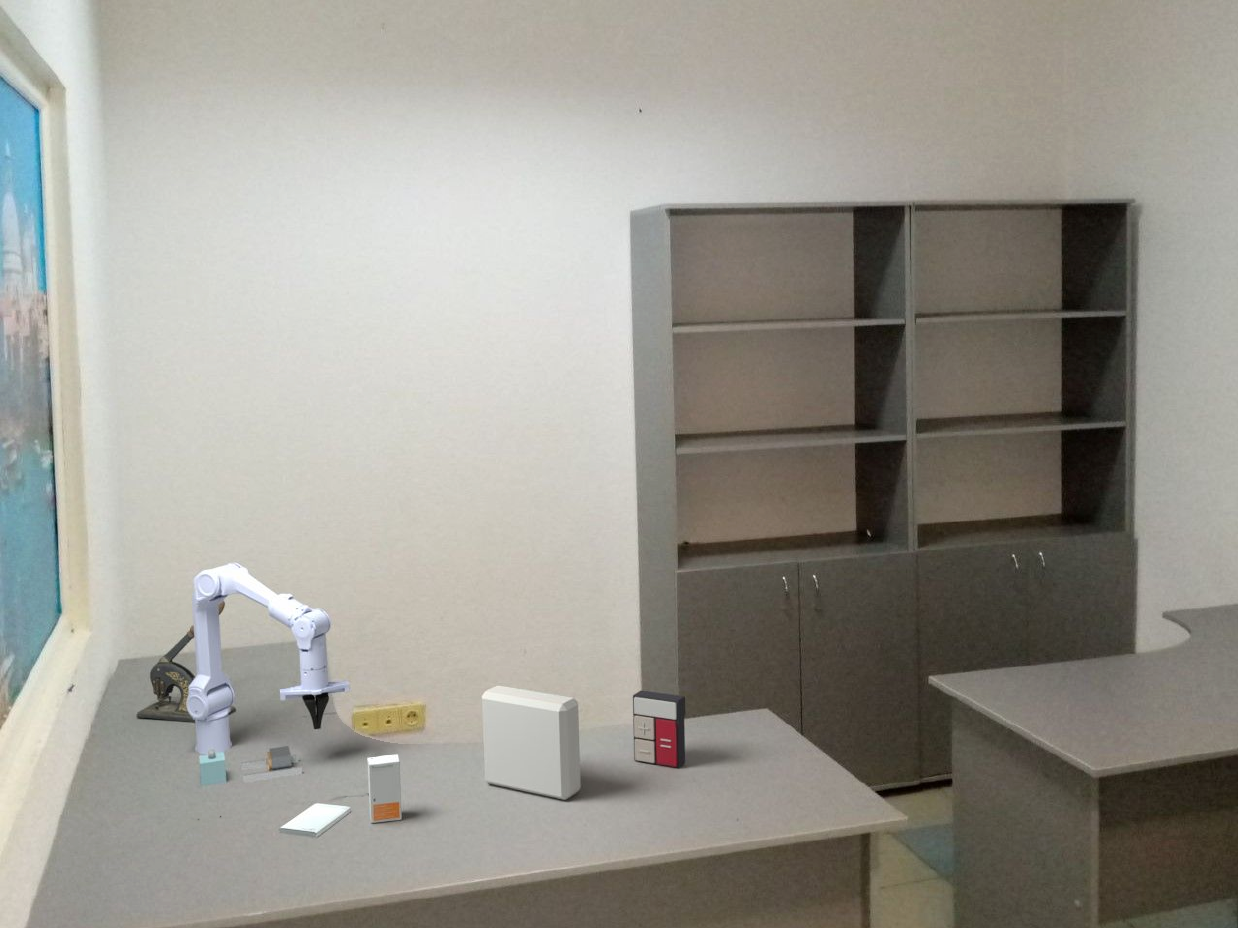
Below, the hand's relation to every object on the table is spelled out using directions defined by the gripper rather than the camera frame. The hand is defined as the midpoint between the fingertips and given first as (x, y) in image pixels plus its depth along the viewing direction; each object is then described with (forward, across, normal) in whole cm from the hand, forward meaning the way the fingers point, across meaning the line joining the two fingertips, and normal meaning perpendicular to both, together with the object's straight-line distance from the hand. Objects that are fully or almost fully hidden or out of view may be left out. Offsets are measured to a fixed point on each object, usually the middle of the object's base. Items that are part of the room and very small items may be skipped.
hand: (317, 727), depth 256 cm
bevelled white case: (+10, +40, -29) cm, 50 cm away
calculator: (+10, +69, -27) cm, 75 cm away
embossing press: (+10, -26, +52) cm, 59 cm away
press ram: (+8, -8, 0) cm, 11 cm away
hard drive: (+10, -4, -28) cm, 30 cm away
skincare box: (+10, +9, -32) cm, 35 cm away
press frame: (+9, -15, 0) cm, 18 cm away
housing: (+8, -22, 0) cm, 23 cm away
